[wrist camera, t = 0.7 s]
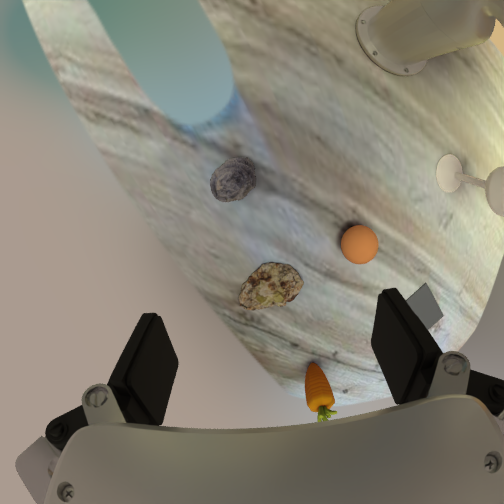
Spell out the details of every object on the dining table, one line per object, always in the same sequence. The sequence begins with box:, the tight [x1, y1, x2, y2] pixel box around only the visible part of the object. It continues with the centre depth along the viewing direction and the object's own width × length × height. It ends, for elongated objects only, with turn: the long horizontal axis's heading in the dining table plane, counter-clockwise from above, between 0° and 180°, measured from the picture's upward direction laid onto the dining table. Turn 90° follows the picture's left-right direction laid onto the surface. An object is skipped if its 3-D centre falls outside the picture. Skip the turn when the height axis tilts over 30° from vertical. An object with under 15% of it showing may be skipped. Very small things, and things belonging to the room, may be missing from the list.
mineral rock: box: [239, 262, 304, 311], centre depth 43 cm, size 11×4×8 cm
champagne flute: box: [436, 154, 504, 217], centre depth 25 cm, size 7×7×24 cm
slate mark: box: [406, 283, 443, 330], centre depth 47 cm, size 12×12×1 cm
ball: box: [341, 225, 378, 264], centre depth 38 cm, size 6×6×6 cm
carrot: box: [305, 363, 337, 422], centre depth 44 cm, size 5×5×15 cm
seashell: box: [210, 157, 256, 202], centre depth 32 cm, size 5×5×10 cm
